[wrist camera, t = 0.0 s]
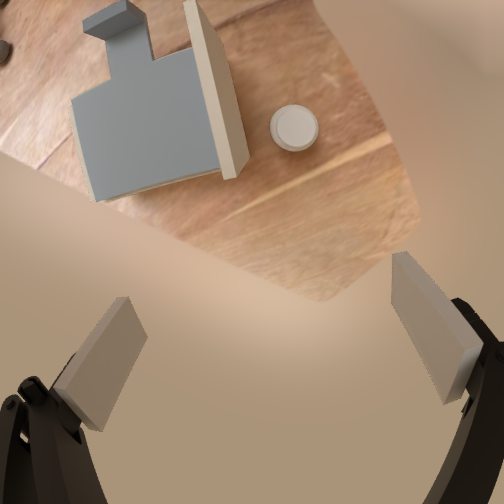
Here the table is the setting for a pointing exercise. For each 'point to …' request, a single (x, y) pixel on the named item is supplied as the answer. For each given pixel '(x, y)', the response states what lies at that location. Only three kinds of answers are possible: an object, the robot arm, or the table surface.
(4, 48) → the molecular model
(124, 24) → the flap
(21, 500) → the robot arm
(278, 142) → the supplement bottle
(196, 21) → the carton
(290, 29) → the table surface
